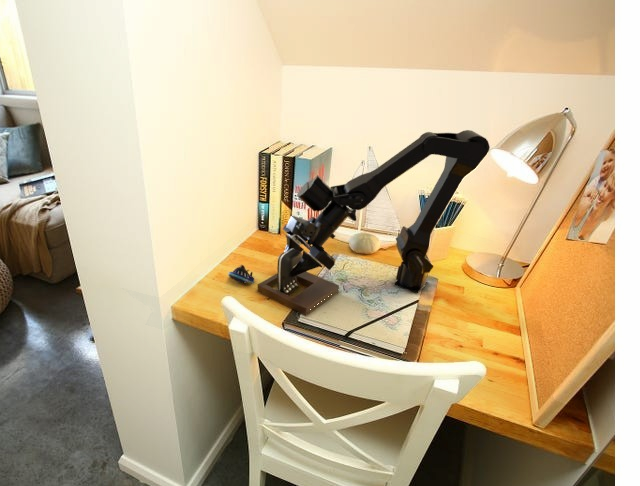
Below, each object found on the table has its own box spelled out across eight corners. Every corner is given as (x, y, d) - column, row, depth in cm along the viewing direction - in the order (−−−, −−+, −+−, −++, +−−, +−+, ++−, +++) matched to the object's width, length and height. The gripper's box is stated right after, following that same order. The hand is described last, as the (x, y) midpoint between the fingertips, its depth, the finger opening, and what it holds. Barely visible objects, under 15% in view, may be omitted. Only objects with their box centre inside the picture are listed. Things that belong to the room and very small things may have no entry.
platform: (338, 292, 104) (339, 285, 103) (305, 316, 96) (306, 308, 95) (290, 271, 114) (291, 265, 113) (257, 291, 106) (257, 284, 105)
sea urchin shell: (378, 253, 117) (361, 232, 117) (357, 265, 123) (341, 245, 123) (386, 241, 124) (371, 221, 124) (366, 253, 130) (351, 234, 129)
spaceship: (256, 273, 113) (255, 260, 109) (253, 289, 108) (252, 276, 105) (231, 272, 114) (229, 259, 111) (227, 287, 110) (224, 274, 106)
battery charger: (288, 299, 102) (289, 260, 96) (276, 294, 104) (276, 255, 98) (302, 287, 107) (305, 249, 101) (290, 282, 109) (292, 245, 103)
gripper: (290, 192, 102) (251, 239, 105) (328, 219, 87) (281, 272, 90) (315, 216, 108) (277, 259, 111) (354, 244, 93) (310, 294, 96)
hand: (285, 270), depth 102 cm, fingers closed on battery charger, 6 cm apart
